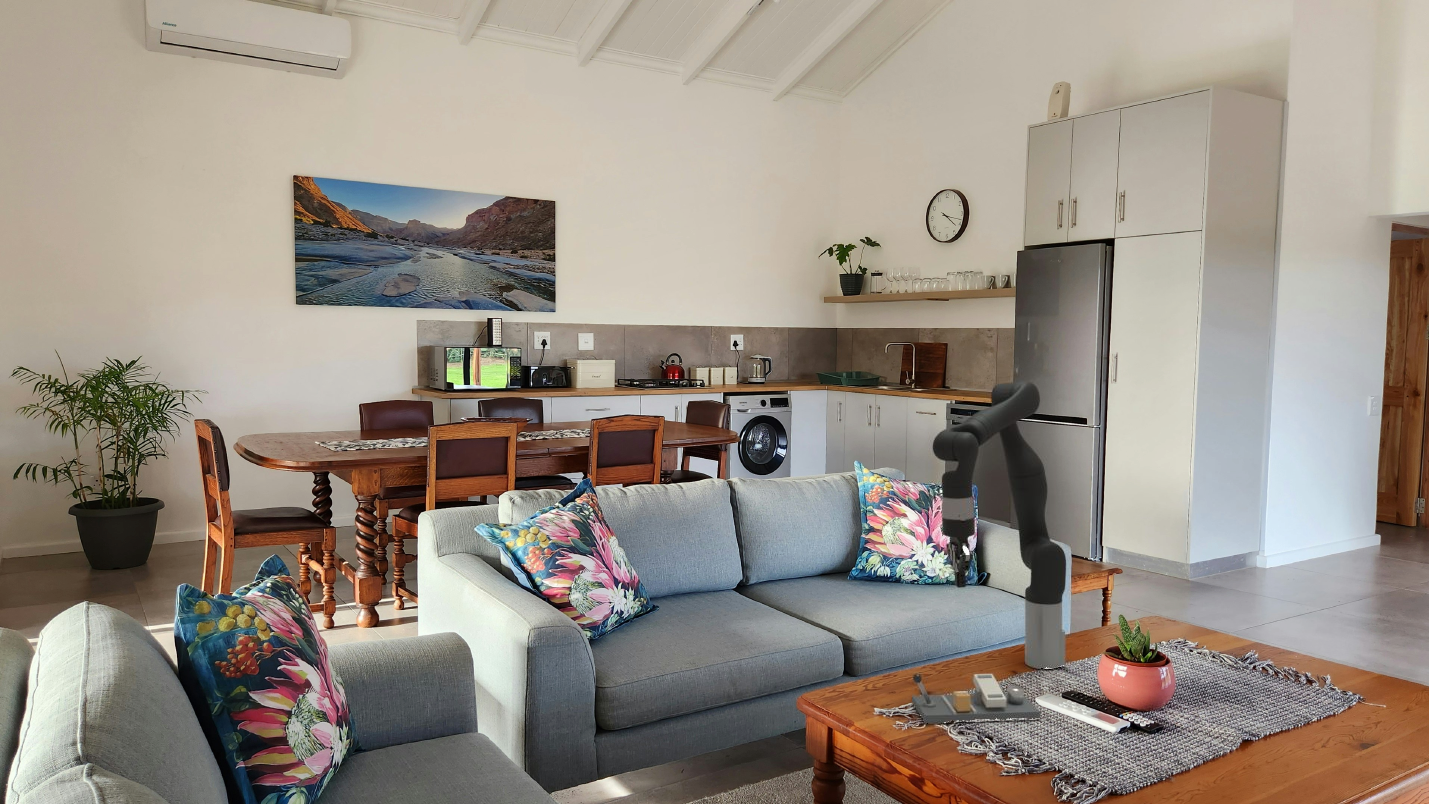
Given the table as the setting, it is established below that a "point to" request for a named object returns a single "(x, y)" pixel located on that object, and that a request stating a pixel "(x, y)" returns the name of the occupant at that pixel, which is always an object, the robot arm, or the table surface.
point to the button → (1015, 694)
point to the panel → (945, 711)
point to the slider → (961, 701)
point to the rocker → (989, 690)
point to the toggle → (921, 687)
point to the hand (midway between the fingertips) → (960, 586)
